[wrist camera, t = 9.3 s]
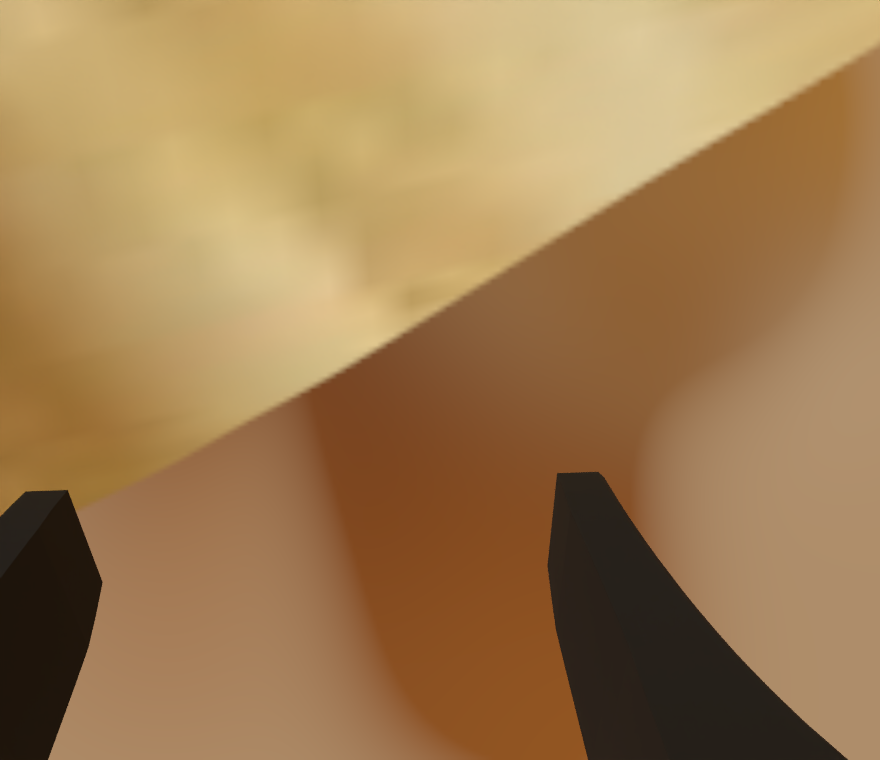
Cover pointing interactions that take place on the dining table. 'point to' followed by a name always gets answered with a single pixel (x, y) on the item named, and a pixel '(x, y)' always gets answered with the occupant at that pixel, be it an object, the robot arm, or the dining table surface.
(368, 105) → the dining table surface
